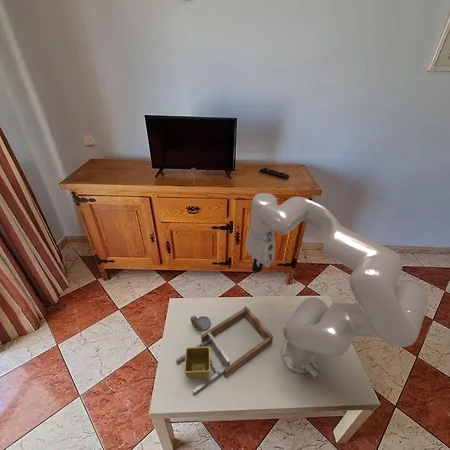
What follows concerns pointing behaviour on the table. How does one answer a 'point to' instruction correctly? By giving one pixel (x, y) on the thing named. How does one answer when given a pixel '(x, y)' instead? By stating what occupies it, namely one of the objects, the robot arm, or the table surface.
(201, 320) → the pocket watch
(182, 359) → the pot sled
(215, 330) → the frame
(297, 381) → the table surface
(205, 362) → the flower pot
